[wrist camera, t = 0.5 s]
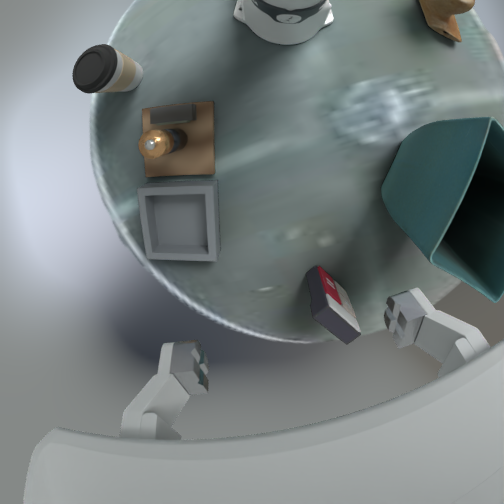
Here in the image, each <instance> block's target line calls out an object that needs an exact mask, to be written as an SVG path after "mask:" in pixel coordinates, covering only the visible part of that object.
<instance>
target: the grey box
mask: <svg viewBox="0 0 504 504" xmlns="http://www.w3.org/2000/svg"><path fill="white" fill-rule="evenodd" d="M306 276H307V281H308V285H309V289H310V294H311V298H312V302H311V305H310V306H311V311H312V316H313V318H314V319H315V320H316V321H317V322H319V323H320V324H321V325H322V326H324V327H325V328H326V329H327V330H329V331H330V332H331V333H332V334H334V335H335V336H336V337H337V338H339V339H340V340H341V341H343V342H344V343H345V344H349V343H350V342H352V341H353V340H354V339H356V338H357V337H359V336H360V335H361V333H360V332H361V331H360V328H359V325H358V323H357V320H356V319H355V318H356V315H355V312H354V310H353V307H352V305H351V304H350V300H349V297H348V295H347V293H346V291H345V290H344V289H343V288H342V287H341V286H340V285H339V284H338V283H337V282H336V281H335V280H333V279H332V277H331V276H330V275H329V274H328V273H326V272H325V271H324V270H323V269H322V268H321V267H320V266H318V267H317V266H316V265H315V266H314V267H313V268H312V269H311V270H309V271H308V272H307V273H306Z"/></svg>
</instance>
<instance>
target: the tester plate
mask: <svg viewBox="0 0 504 504" xmlns="http://www.w3.org/2000/svg"><path fill="white" fill-rule="evenodd" d="M142 121H143V134H144V133H145V132H147V131H149V130H160V129H177V128H178V129H182V130H183V131H184V132H185V133H186V134H187V138H188V141H187V144H186V146H185V147H184V148H183V149H182V150H179V151H176V152H173V153H170V154H167V155H163V156H160V157H157V158H154V159H149V158H146V157H144V161H145V174H146V177H156V176H173V175H199V174H214V173H215V147H214V102H213V101H207V102H194V103H184V104H174V105H166V106H159V107H152V108H145V109H142Z"/></svg>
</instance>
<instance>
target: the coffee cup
mask: <svg viewBox="0 0 504 504" xmlns="http://www.w3.org/2000/svg"><path fill="white" fill-rule="evenodd" d="M142 77H143V69H142V67H141V66H140V65H139V64H138V63H136V62H135V61H133V60H132V59H131V58H129V57H128V56H126V55H124V54H123V53H121V52H119V51H118V50H116V49H114V48H113V47H111V46H109V45H106V44H102V45H97V46H93V47H91V48H89V49H88V50H86V51H85V52H84V53H83V54H82V55H81V56H80V57H79V58H78V60H77V62H76V64H75V66H74V69H73V81H74V84H75V85H76V87H77V88H78V89H79V90H81V91H82V92H85V93H102V92H127V91H131V90H133V89H134V88H136V87H137V86H138V85H139V84H140V82H141V80H142Z"/></svg>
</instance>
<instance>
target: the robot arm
mask: <svg viewBox="0 0 504 504" xmlns="http://www.w3.org/2000/svg"><path fill="white" fill-rule="evenodd" d="M239 9H242V11H240V10H239ZM234 17H235V18H236V19H237V20H239V21H241V22H243V23H245V24H247V25H248V26H249V27H250V28H251V30H252V31H253V32H254V33H255V34H257V35H258V36H259V37H261V38H263V39H264V40H267V41H269V42H272V43H276V44H283V45H291V44H298V43H302V42H304V41H307V40H309V39H310V38H312V37H313V36H314V35H315V34H316V33H317V32H318V31H319V30H320V29H321V28H322V27H325V26H327V25H330V24H331V23H332V22H333V20H334V18H333V14H332V11H331V4H330V3H329V0H237V3H236V7H235V10H234ZM386 304H387V305H388V307H387V308H386V310H385V312H384V321H385V324H386V327H387V329H388V330H389V331H391V332H392V333H393V340H394V341H395V343H396V345H397V347H398V348H402V347H405V346H407V345H410V344H413V343H414V344H415V345H416V346H418V347H419V348H421V349H422V350H424V351H425V352H427V353H428V354H430V355H431V356H432V357H434V358H435V359H437V360H438V361H440V362H441V363H443V365H442V366H441V368H440V370H439V372H438V376H439V378H438V379H436V380H434V381H432V382H429V383H427V384H425V385H423V386H421V387H419V388H417V389H414V390H412V391H410V392H408V393H405V394H403V395H400V396H398V397H395V398H393V399H391V400H388V401H386V402H382V403H380V404H377V405H374V406H371V407H369V408H366V409H363V410H359V411H356V412H353V413H350V414H347V415H343V416H340V417H337V418H333V419H329V420H325V421H321V422H318V423H314V424H309V425H305V426H300V427H295V428H290V429H285V430H280V431H274V432H268V433H261V434H254V435H246V436H238V437H227V438H214V439H194V440H181V435H180V434H179V433H178V432H176V431H175V430H174V429H173V428H172V425H173V423H174V422H175V420H176V418H177V417H178V415H179V413H180V411H181V410H182V409H183V407H184V405H185V404H186V402H187V400H188V399H189V397H190V396H189V395H196V394H205V393H208V379H207V377H206V374H207V373H208V371H209V366H208V359H207V356H206V354H205V352H204V351H203V350H201V344H200V342H199V341H198V340H191V341H183V342H174V343H164V344H163V346H162V349H161V355H160V361H159V367H158V374H157V375H154V376H153V377H152V378H151V380H150V381H149V382H148V383H147V385H146V386H145V387H144V388H143V389H142V390H141V392H140V393H139V394H138V395H137V396H136V397H135V399H134V400H133V401H132V402H131V403H130V404H129V406H128V407H127V408H126V409H125V411H124V413H123V418H122V424H121V430H120V437H115V436H106V435H100V434H93V433H87V432H81V431H76V430H70V429H66V428H61V427H57V428H54V429H53V430H51V431H50V432H49V433H48V434H47V435H46V436H45V437H44V438H43V439H42V440H41V441H40V442H39V443H38V444H37V446H36V447H35V449H34V452H33V454H32V457H31V461H30V465H29V470H28V474H27V479H26V485H25V492H24V500H23V504H504V339H503V340H501V341H500V342H498V343H497V344H496V345H494V346H493V347H490V345H489V344H488V342H487V341H486V340H485V338H484V337H483V335H482V334H481V332H480V331H479V330H478V329H477V328H476V327H473V326H471V325H469V324H467V323H465V322H463V321H461V320H459V319H456V318H455V317H452V316H450V315H448V314H446V313H444V312H442V311H440V310H437V311H436V310H435V309H434V307H433V306H432V305H431V303H430V302H429V301H428V299H427V298H426V297H425V295H424V294H423V293H422V292H421V290H420V289H419V288H414V289H411V290H408V291H404V292H401V293H398V294H395V295H392V296H389V297H388V298H387V302H386Z"/></svg>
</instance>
